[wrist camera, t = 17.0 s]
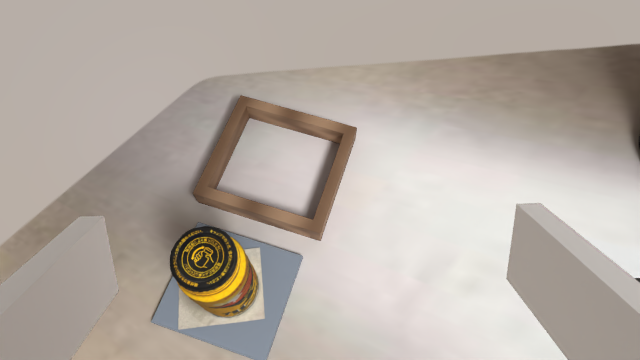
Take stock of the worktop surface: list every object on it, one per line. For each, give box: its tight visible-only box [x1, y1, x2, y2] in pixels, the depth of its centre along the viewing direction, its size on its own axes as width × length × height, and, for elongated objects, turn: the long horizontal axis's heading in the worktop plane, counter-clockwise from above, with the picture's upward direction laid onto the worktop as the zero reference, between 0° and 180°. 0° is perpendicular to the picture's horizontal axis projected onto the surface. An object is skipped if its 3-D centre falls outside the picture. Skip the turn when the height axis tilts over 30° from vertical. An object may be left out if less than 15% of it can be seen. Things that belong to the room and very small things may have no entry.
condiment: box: [170, 226, 265, 330], centre depth 40 cm, size 7×8×12 cm
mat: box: [151, 222, 303, 360], centre depth 46 cm, size 12×11×1 cm
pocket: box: [193, 96, 357, 241], centre depth 51 cm, size 14×13×2 cm
